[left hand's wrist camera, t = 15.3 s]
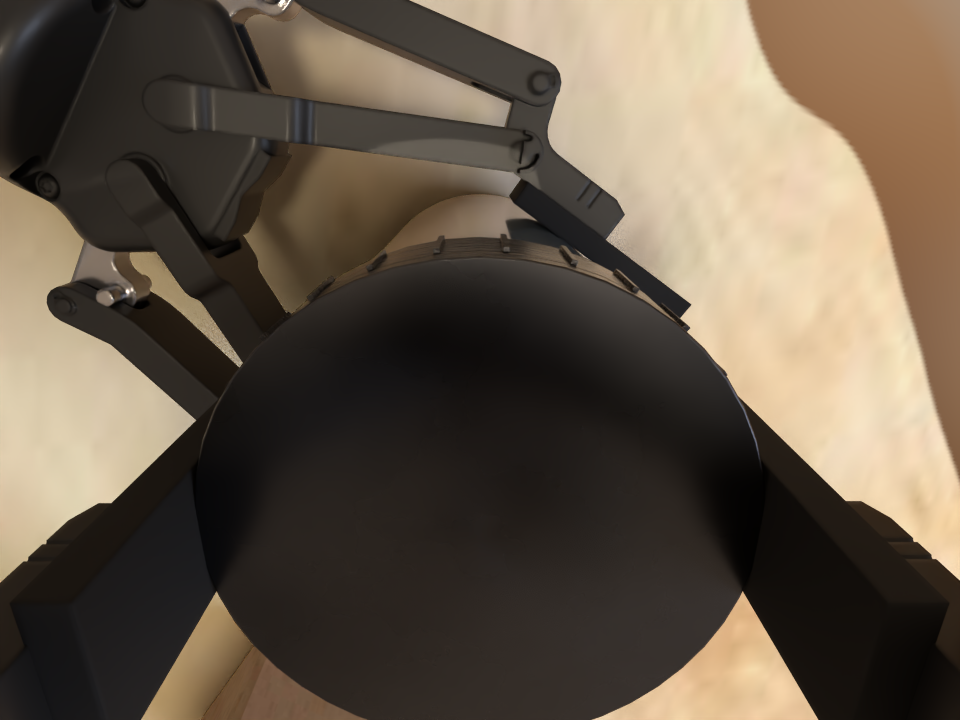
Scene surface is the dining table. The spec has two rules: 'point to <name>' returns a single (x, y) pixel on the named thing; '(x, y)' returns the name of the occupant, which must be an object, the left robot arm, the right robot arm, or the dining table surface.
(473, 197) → the jar
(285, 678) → the wooden block
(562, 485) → the lid
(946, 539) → the dining table surface
